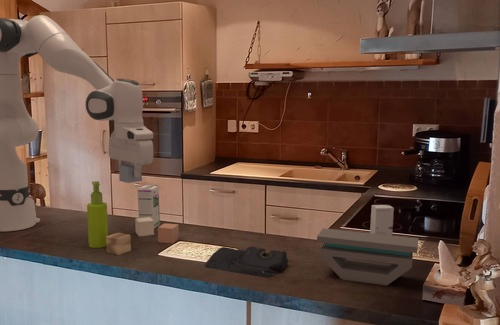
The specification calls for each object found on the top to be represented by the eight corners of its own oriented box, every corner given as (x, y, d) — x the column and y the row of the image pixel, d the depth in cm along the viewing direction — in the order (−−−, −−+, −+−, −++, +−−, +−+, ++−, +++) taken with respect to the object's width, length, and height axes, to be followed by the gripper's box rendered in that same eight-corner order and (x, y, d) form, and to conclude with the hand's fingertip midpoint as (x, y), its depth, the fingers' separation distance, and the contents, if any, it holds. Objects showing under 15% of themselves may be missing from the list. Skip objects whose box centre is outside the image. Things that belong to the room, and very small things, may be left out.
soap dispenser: (106, 240, 161) (104, 179, 158) (109, 246, 155) (107, 183, 152) (87, 242, 159) (85, 180, 156) (89, 248, 153) (86, 184, 150)
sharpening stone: (316, 275, 132) (317, 236, 131) (322, 265, 139) (323, 228, 138) (414, 289, 124) (417, 247, 122) (416, 278, 131) (418, 238, 129)
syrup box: (154, 229, 174) (153, 188, 172) (138, 228, 175) (137, 187, 173) (160, 224, 179) (159, 185, 177) (144, 223, 181) (143, 184, 178)
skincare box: (374, 245, 158) (375, 208, 156) (369, 241, 162) (370, 204, 160) (392, 244, 158) (394, 207, 157) (387, 240, 163) (388, 204, 161)
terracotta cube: (158, 242, 160) (157, 227, 159) (164, 238, 164) (164, 223, 164) (172, 243, 158) (172, 228, 158) (178, 239, 163) (178, 224, 162)
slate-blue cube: (119, 180, 157) (118, 165, 156) (133, 178, 160) (132, 163, 159) (128, 183, 153) (127, 166, 152) (142, 180, 157) (141, 165, 156)
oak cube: (106, 252, 150) (106, 236, 149) (119, 247, 154) (118, 232, 153) (118, 255, 147) (118, 239, 146) (130, 250, 151) (130, 234, 151)
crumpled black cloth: (224, 252, 152) (224, 237, 151) (292, 262, 144) (293, 246, 143) (200, 268, 138) (200, 252, 137) (275, 281, 130) (275, 263, 129)
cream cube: (135, 232, 170) (135, 218, 169) (150, 231, 172) (149, 217, 171) (139, 236, 166) (138, 222, 165) (153, 234, 168) (153, 220, 167)
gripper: (102, 130, 159) (104, 172, 161) (138, 134, 145) (140, 181, 147) (120, 129, 164) (121, 170, 166) (156, 133, 150) (157, 178, 152)
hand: (130, 175), depth 156 cm, fingers closed on slate-blue cube, 5 cm apart
